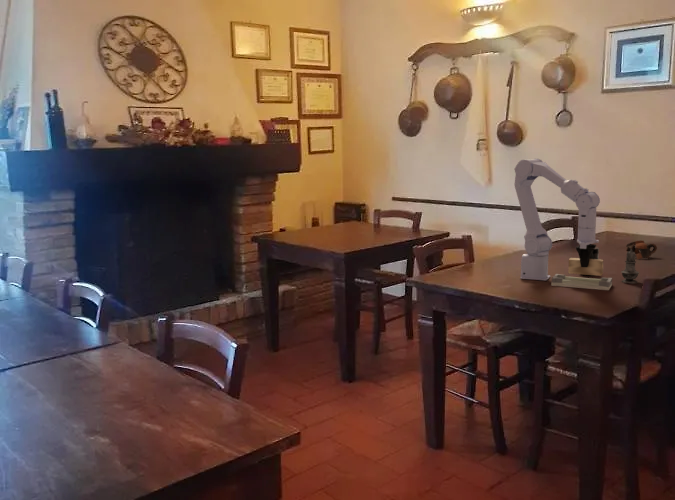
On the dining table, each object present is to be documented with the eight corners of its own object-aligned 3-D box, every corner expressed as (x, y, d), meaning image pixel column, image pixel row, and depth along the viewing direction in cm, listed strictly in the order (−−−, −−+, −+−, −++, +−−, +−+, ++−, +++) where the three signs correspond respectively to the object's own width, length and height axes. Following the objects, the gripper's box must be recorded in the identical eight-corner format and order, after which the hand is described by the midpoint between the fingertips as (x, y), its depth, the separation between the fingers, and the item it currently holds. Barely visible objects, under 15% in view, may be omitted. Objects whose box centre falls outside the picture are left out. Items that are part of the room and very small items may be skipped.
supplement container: (592, 277, 249) (593, 249, 247) (575, 275, 254) (576, 247, 252) (601, 274, 253) (602, 247, 252) (584, 272, 258) (585, 245, 257)
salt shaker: (640, 283, 237) (642, 250, 235) (622, 283, 238) (624, 250, 236) (636, 280, 243) (638, 247, 241) (619, 279, 244) (620, 247, 242)
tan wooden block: (568, 273, 237) (568, 259, 236) (570, 271, 240) (570, 257, 239) (601, 275, 232) (602, 261, 231) (602, 273, 235) (603, 259, 234)
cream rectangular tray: (551, 285, 238) (551, 278, 237) (556, 280, 245) (556, 273, 245) (608, 290, 229) (609, 282, 228) (612, 284, 236) (612, 277, 236)
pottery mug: (630, 260, 282) (624, 242, 285) (629, 266, 290) (623, 248, 293) (660, 254, 279) (655, 235, 281) (658, 260, 287) (652, 242, 290)
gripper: (596, 230, 225) (594, 270, 227) (602, 225, 237) (600, 263, 240) (574, 229, 228) (572, 269, 230) (581, 224, 241) (579, 261, 243)
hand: (585, 265), depth 235 cm, fingers closed on tan wooden block, 4 cm apart
